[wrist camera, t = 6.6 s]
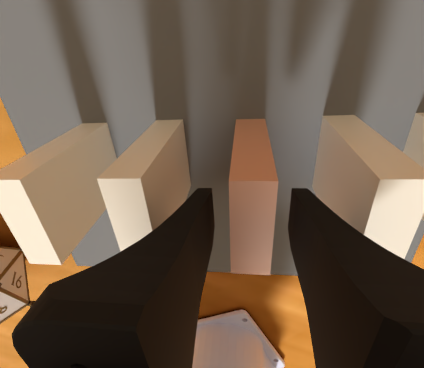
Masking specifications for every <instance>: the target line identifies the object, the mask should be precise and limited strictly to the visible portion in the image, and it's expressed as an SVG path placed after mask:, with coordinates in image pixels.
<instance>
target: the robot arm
mask: <svg viewBox="0 0 424 368" xmlns="http://www.w3.org/2000/svg"><path fill="white" fill-rule="evenodd" d="M214 229H215V222H214V209H213V195H212V188H197V189H196V190H195V191H194V192H193V193H192V194H191V196H190V197H189V198H188V199H187V200H186V201H185V202H184V203H183V204H182V205H181V206H180V207H179V208H178V209H177V210H176V211H175V212H174V213H173V214H172V215H171V216H170V217H168V218H167V219H166V220H165V221H164V222H163V223H162V224H161V225H159V226H158V227H157V228H156V229H154V230H153V231H152V232H150V233H149V234H147V235H146V236H145V237H143V238H142V239H140V240H139V241H137V242H136V243H134V244H132V245H131V246H129V247H127V248H126V249H124V250H122V251H121V252H119V253H117V254H116V255H114V256H112V257H110V258H108V259H106V260H104V261H102V262H100V263H98V264H96V265H94V266H92V267H90V268H88V269H86V270H83V271H81V272H79V273H76V274H74V275H71V276H69V277H66V278H64V279H62V280H59V281H57V282H54V283H52V284H49V285H48V287H47V288H46V289H45V290H44V291H43V293H42V294H41V295H40V297H39V298H38V299H37V300H36V302H35V303H34V304H33V305H32V307H31V308H30V309H29V311H28V312H27V313H26V314H25V316H24V317H23V318H22V319H21V321H20V322H19V323H18V324H17V326H16V327H15V329H14V331H13V333H12V339H13V346H14V347H15V349H16V351H17V352H18V354H19V355H20V357H21V358H22V359H23V360H24V362H25V363H26V364H27V365H28V367H29V368H283V367H284V366H285V362H284V360H283V359H282V358H281V356H280V355H279V354H278V352H277V351H276V350H275V348H274V347H273V346H272V344H271V343H270V342H269V340H268V339H267V338H266V336H265V335H264V334H263V332H262V331H261V330H260V328H259V327H258V326H257V324H256V323H255V322H254V320H253V319H252V318H251V316H250V315H249V314H248V312H247V311H245V310H237V311H233V312H229V313H225V314H220V315H216V316H212V317H208V318H204V319H200V320H198V315H199V307H200V300H201V295H202V290H203V286H204V282H205V277H206V273H207V269H208V265H209V260H210V256H211V252H212V247H213V239H214ZM288 234H289V241H290V248H291V252H292V256H293V260H294V263H295V267H296V271H297V274H298V278H299V282H300V285H301V289H302V292H303V296H304V300H305V305H306V309H307V315H308V321H309V327H310V333H311V339H312V346H313V352H314V359H315V365H316V368H424V269H422V268H420V267H418V266H416V265H414V264H412V263H410V262H408V261H407V260H405V259H403V258H401V257H399V256H397V255H395V254H394V253H392V252H390V251H388V250H387V249H385V248H383V247H382V246H380V245H379V244H377V243H376V242H374V241H372V240H371V239H369V238H368V237H366V236H365V235H363V234H362V233H360V232H359V231H358V230H356V229H355V228H354V227H352V226H351V225H350V224H348V223H347V222H346V221H344V220H343V219H342V218H341V217H339V216H338V215H337V214H336V213H334V212H333V211H332V210H331V209H330V208H329V207H328V206H326V205H325V204H324V203H323V202H322V201H321V200H320V199H319V198H318V197H316V196H315V195H314V194H313V193H312V192H311V191H310V190H309V189H308V188H292V191H291V200H290V210H289V220H288Z"/></svg>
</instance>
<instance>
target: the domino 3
mask: <svg viewBox="0 0 424 368" xmlns="http://www.w3.org/2000/svg"><path fill="white" fill-rule="evenodd" d="M277 192H278V177H277V172H276V168H275V163H274V158H273V153H272V149H271V144H270V139H269V135H268V130H267V125H266V121H265V119H236V124H235V132H234V140H233V149H232V157H231V166H230V174H229V216H230V262H231V273H234V274H252V275H270V272H271V260H272V249H273V238H274V226H275V215H276V203H277Z"/></svg>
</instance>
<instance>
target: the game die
mask: <svg viewBox="0 0 424 368" xmlns="http://www.w3.org/2000/svg"><path fill="white" fill-rule="evenodd" d="M35 302H36V301H30V298H29V289H28V281H27V273H26V265H25V257H24V253H23V251H22V249H21V248H14V247H5V246H0V324H1V323H2V322H4V321H5V320H7V319H8V318H10V317H11V316H13V315H14V314H16V313H17V312H19V311H20V310H22V309H23V308H24V307H26V306H30V308H31V307H32V305H33V304H34V303H35Z"/></svg>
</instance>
